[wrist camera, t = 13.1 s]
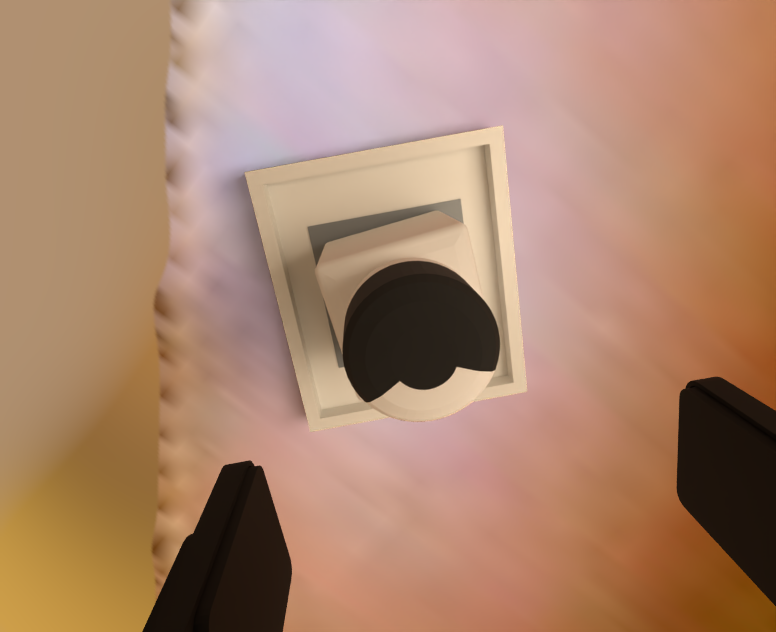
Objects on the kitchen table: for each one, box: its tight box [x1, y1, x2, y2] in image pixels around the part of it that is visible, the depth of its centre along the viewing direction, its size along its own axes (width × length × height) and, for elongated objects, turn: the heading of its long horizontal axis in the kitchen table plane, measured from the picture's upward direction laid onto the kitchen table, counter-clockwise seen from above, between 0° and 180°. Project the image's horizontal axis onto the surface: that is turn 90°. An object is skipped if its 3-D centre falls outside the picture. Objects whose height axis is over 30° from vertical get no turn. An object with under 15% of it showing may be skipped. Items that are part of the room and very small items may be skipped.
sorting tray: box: [245, 126, 527, 432], centre depth 29 cm, size 16×14×2 cm
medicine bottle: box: [315, 211, 500, 422], centre depth 23 cm, size 7×7×12 cm
